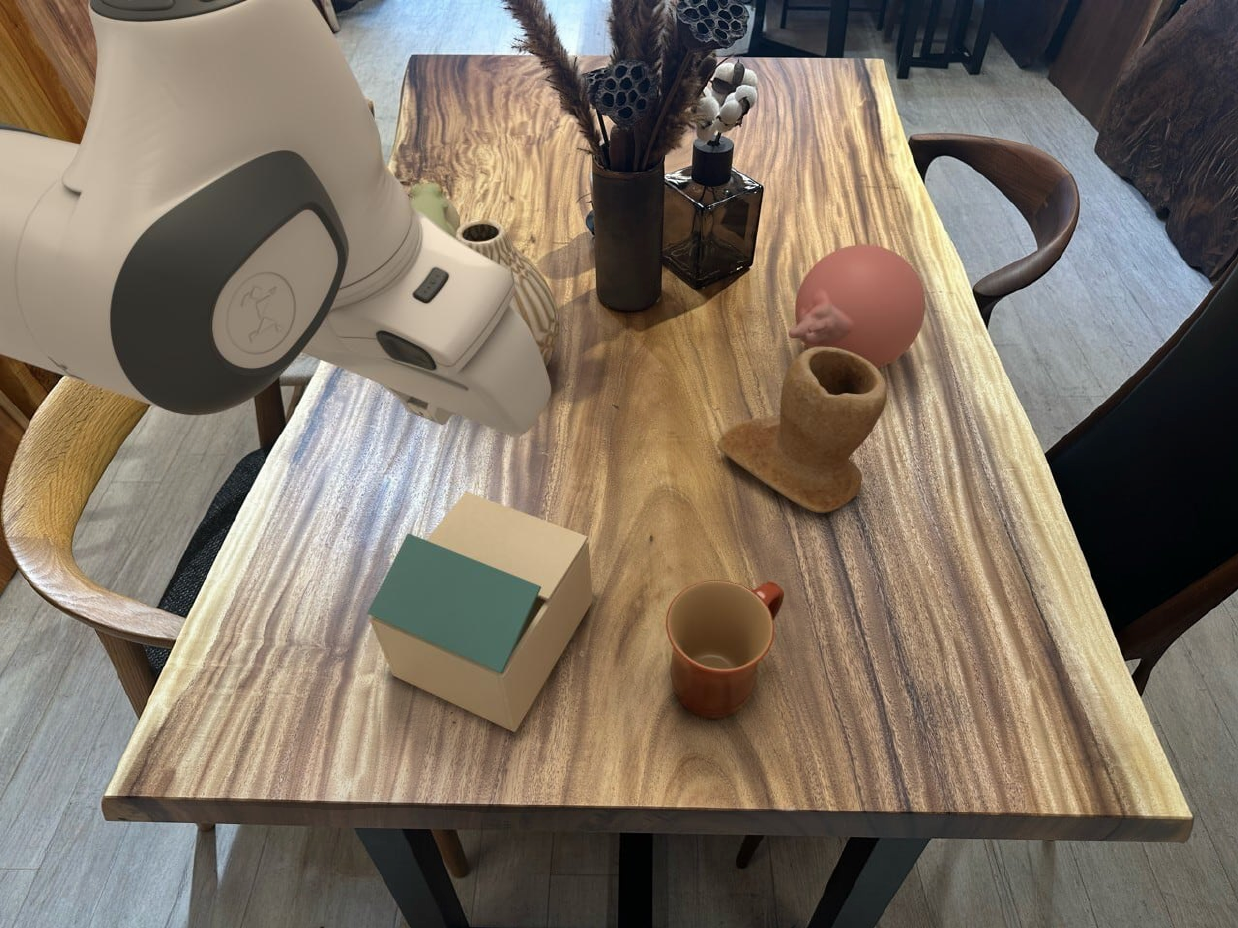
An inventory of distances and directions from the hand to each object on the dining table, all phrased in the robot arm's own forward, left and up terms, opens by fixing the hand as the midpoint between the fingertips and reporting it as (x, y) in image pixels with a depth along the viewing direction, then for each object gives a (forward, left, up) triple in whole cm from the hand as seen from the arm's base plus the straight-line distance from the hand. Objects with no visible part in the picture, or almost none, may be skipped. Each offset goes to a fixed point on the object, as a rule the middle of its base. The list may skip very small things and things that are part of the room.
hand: (432, 411), depth 56 cm
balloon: (+53, +22, -29) cm, 64 cm away
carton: (+1, 0, -29) cm, 29 cm away
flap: (-2, -3, -18) cm, 18 cm away
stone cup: (+39, +8, -29) cm, 49 cm away
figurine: (+11, +68, -29) cm, 75 cm away
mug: (+19, -12, -29) cm, 37 cm away
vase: (+13, +38, -29) cm, 49 cm away
